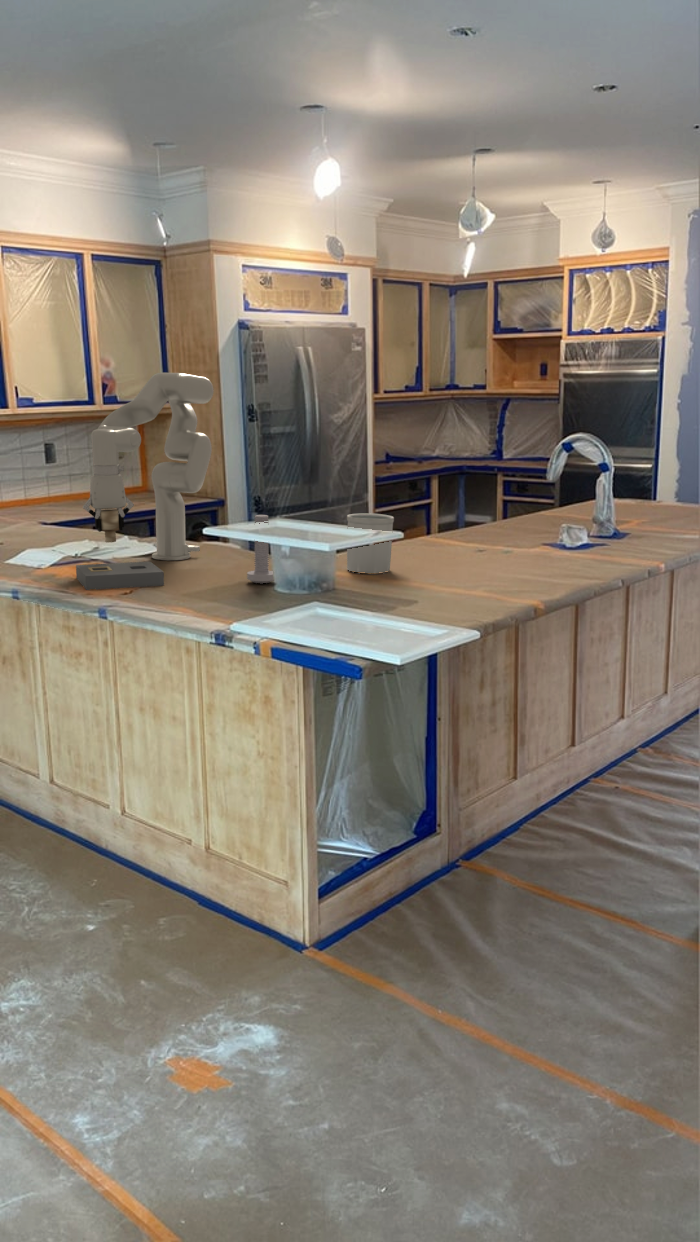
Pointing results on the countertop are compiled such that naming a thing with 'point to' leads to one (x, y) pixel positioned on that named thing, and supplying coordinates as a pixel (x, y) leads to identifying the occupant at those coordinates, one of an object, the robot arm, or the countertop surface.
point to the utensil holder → (373, 555)
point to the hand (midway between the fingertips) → (109, 529)
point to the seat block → (119, 575)
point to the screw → (261, 559)
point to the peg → (109, 523)
